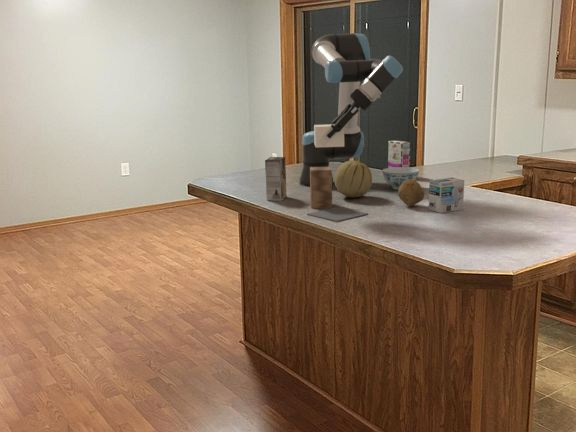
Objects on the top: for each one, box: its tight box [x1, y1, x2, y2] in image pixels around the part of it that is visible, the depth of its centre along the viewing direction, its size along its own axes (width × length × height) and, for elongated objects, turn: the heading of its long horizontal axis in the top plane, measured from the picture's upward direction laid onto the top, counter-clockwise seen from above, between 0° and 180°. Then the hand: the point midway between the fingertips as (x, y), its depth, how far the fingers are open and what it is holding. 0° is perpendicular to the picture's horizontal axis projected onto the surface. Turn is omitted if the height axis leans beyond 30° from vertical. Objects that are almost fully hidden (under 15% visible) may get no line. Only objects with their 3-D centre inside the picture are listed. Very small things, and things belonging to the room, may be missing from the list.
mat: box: [306, 206, 369, 223], centre depth 214 cm, size 15×15×1 cm
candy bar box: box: [387, 140, 411, 168], centre depth 284 cm, size 11×5×16 cm, turn 25°
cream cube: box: [313, 123, 344, 148], centre depth 214 cm, size 10×10×7 cm
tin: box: [309, 166, 333, 209], centre depth 228 cm, size 8×8×14 cm
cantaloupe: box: [333, 158, 373, 199], centre depth 241 cm, size 15×15×15 cm
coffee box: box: [264, 156, 287, 202], centre depth 243 cm, size 9×6×16 cm
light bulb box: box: [428, 177, 465, 214], centre depth 216 cm, size 11×7×11 cm, turn 117°
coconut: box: [397, 179, 425, 207], centre depth 224 cm, size 9×9×10 cm
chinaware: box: [382, 167, 420, 190], centre depth 257 cm, size 15×15×8 cm
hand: (320, 142), depth 215 cm, fingers closed on cream cube, 10 cm apart
